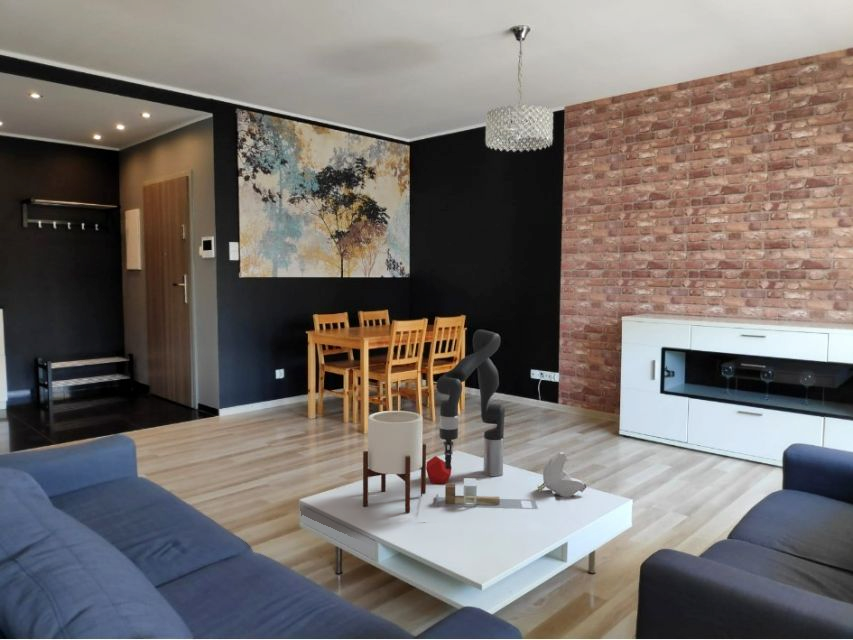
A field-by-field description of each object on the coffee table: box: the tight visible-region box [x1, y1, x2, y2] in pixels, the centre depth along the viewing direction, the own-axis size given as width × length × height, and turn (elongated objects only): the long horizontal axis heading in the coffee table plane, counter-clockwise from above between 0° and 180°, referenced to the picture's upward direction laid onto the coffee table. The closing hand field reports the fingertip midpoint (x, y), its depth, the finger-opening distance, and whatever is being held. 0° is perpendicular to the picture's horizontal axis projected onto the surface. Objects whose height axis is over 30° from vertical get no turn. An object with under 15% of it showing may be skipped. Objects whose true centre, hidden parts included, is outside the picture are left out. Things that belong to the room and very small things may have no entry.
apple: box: [426, 455, 452, 486], centre depth 274 cm, size 12×12×15 cm
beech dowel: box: [455, 495, 501, 505], centre depth 244 cm, size 2×18×2 cm, turn 87°
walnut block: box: [444, 482, 456, 504], centre depth 244 cm, size 4×4×7 cm
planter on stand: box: [362, 410, 427, 514], centre depth 248 cm, size 22×22×36 cm
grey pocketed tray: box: [434, 477, 539, 510], centre depth 244 cm, size 10×41×10 cm, turn 87°
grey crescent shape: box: [537, 451, 587, 497], centre depth 258 cm, size 7×19×20 cm
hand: (448, 465), depth 244 cm, fingers open, 8 cm apart
